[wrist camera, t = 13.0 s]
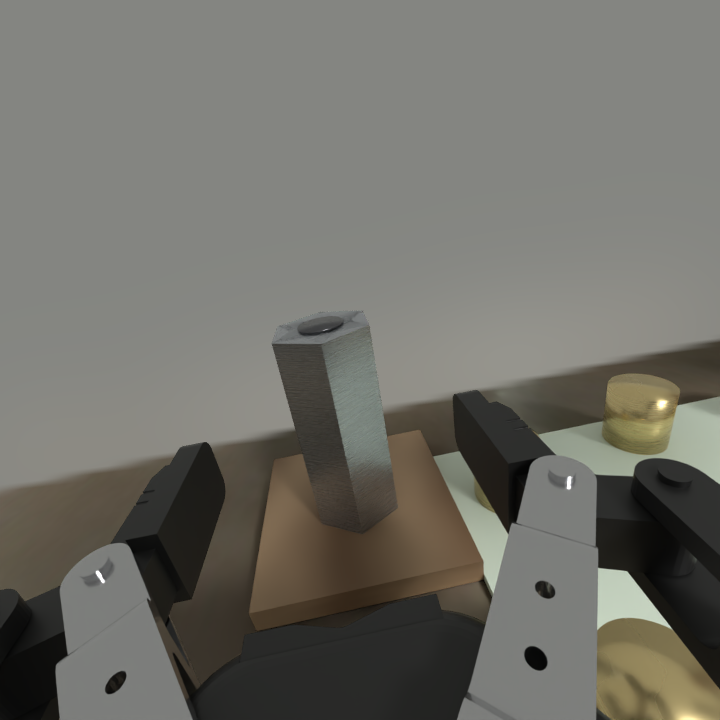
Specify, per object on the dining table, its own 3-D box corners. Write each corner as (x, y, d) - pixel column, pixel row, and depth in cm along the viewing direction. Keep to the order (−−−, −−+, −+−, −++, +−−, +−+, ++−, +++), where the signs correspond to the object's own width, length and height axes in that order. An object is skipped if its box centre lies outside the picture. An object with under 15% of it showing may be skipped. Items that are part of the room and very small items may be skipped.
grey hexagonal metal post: (386, 464, 22) (359, 302, 18) (403, 525, 17) (373, 331, 13) (321, 477, 22) (279, 317, 18) (322, 543, 17) (267, 351, 13)
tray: (421, 443, 25) (419, 429, 24) (484, 579, 16) (483, 560, 15) (278, 473, 24) (274, 459, 24) (256, 631, 15) (248, 613, 15)
